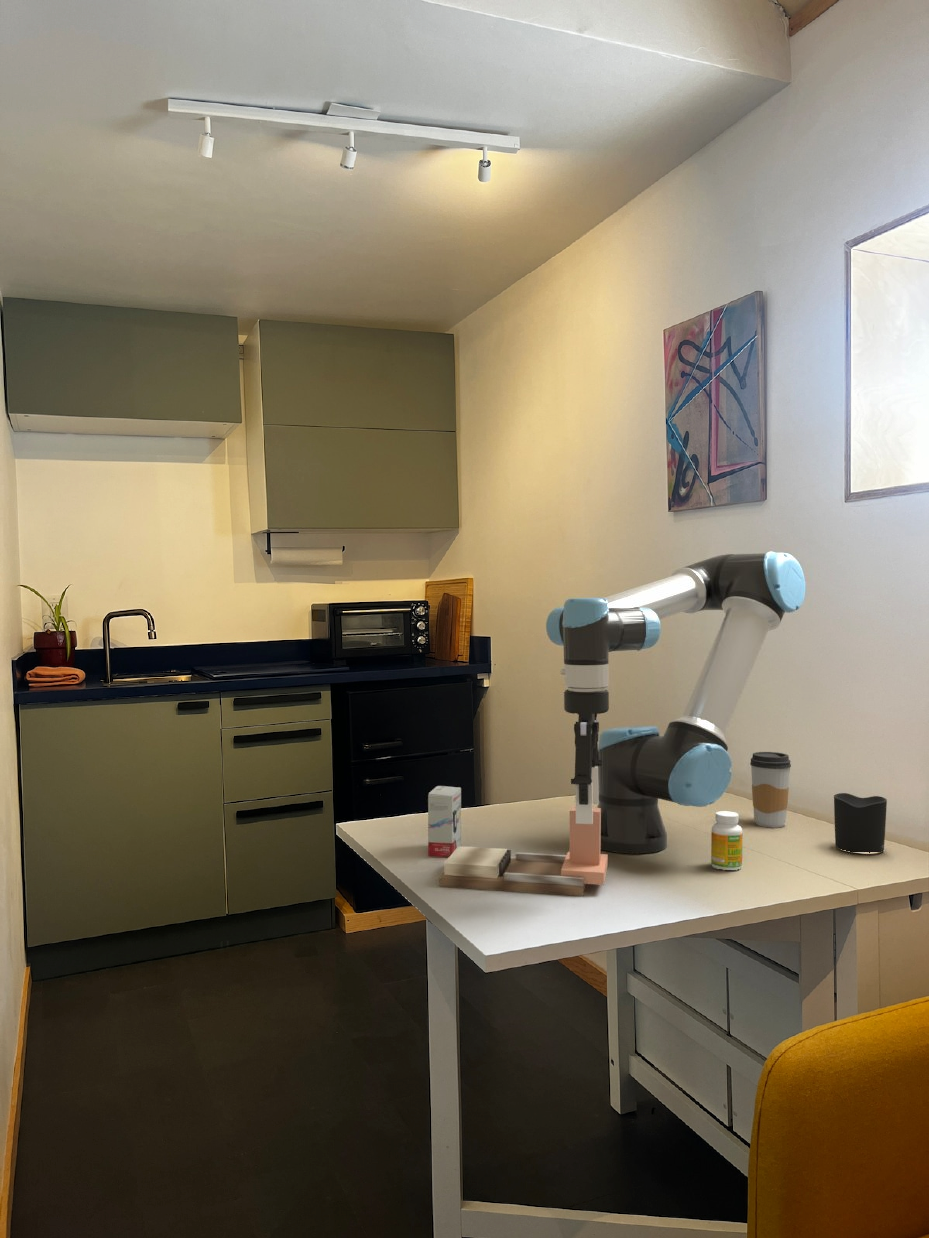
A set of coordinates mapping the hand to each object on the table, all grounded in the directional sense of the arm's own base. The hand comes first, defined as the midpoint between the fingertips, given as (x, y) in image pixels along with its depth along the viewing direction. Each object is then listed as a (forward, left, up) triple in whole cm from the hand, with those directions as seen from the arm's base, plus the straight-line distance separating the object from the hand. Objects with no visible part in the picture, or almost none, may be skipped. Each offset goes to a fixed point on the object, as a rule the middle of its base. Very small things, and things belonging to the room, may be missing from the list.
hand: (587, 813), depth 159 cm
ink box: (+28, -14, -12) cm, 33 cm away
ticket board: (+12, 0, -12) cm, 17 cm away
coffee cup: (-35, -49, -12) cm, 62 cm away
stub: (0, 0, -10) cm, 10 cm away
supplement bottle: (-24, -15, -12) cm, 31 cm away
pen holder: (-50, -33, -12) cm, 61 cm away
